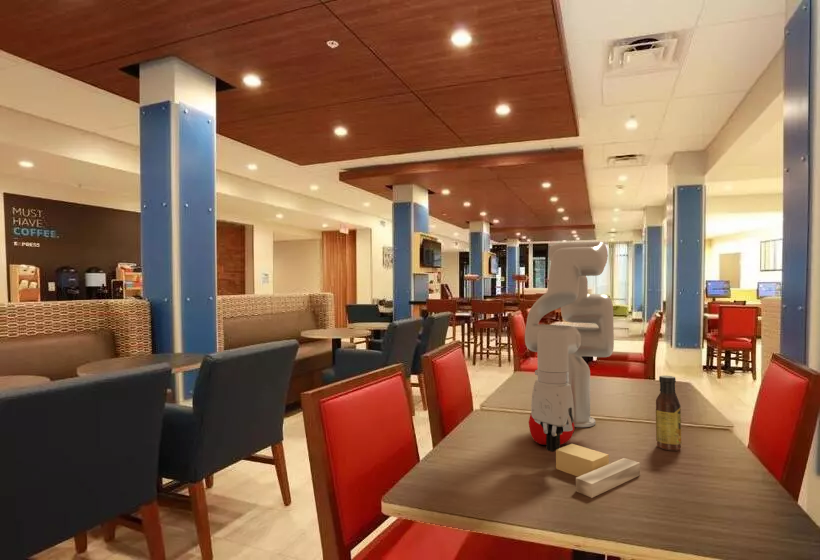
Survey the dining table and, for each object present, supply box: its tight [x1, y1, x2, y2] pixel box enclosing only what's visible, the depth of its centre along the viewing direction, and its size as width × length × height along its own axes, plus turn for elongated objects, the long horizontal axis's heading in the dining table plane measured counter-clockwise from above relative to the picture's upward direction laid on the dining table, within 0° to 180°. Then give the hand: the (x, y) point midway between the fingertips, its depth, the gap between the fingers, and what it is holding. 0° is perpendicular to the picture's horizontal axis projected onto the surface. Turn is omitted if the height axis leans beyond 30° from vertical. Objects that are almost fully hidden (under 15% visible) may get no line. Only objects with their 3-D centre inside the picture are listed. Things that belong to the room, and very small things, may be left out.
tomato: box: [528, 414, 575, 446], centre depth 137 cm, size 13×13×13 cm
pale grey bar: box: [575, 457, 641, 499], centre depth 110 cm, size 4×20×3 cm, turn 126°
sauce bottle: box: [655, 375, 682, 452], centre depth 133 cm, size 6×6×20 cm
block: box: [555, 443, 610, 477], centre depth 117 cm, size 10×7×5 cm
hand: (553, 449), depth 120 cm, fingers closed
